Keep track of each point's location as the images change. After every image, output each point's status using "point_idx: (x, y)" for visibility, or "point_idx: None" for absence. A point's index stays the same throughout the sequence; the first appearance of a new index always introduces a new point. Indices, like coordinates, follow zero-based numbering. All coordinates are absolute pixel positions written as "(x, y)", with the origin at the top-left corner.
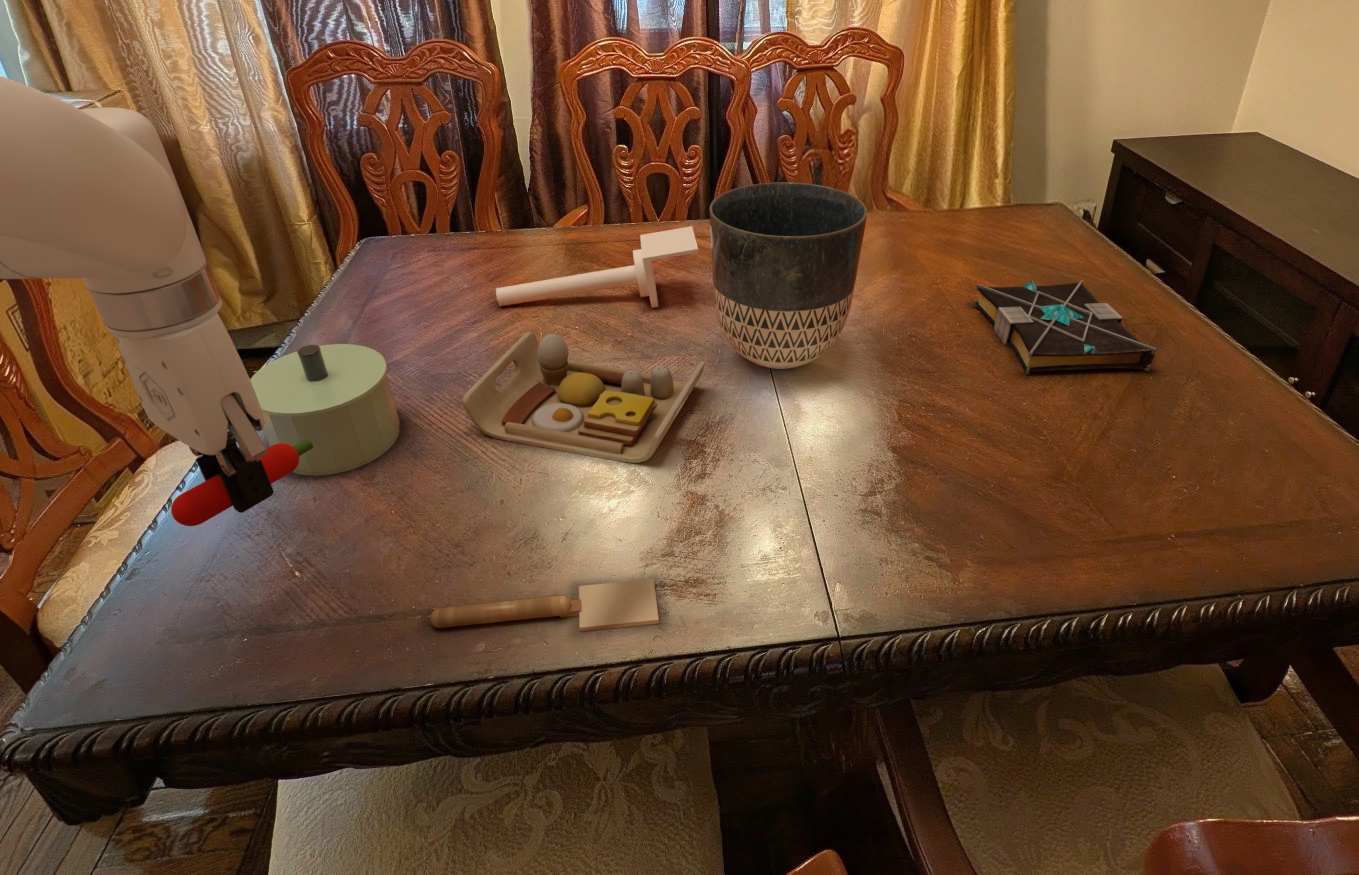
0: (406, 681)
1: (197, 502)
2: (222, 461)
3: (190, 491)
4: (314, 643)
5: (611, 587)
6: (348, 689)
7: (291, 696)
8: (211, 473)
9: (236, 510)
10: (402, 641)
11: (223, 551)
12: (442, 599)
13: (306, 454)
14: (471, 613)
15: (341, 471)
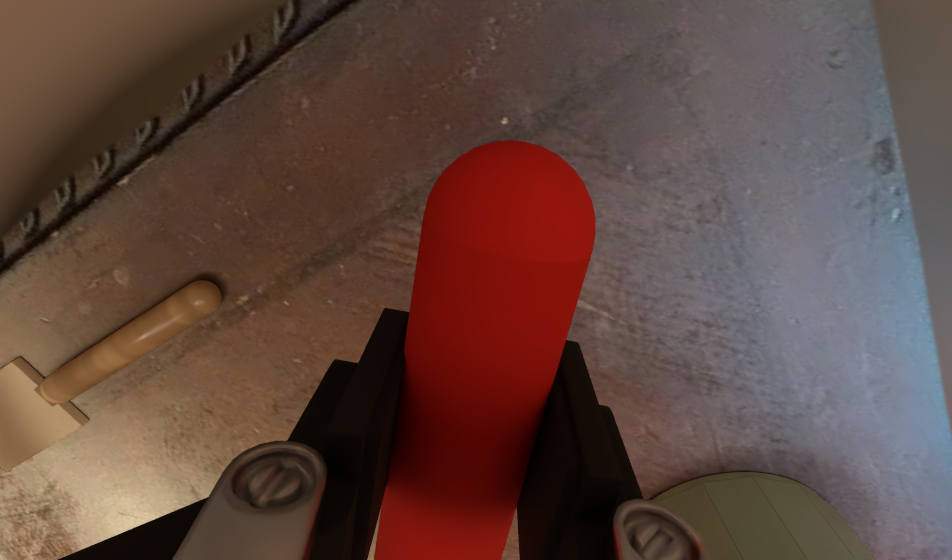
0: (160, 169)
1: (437, 251)
2: (224, 542)
3: (510, 291)
4: (374, 169)
5: (39, 439)
6: (231, 111)
7: (308, 51)
8: (553, 426)
9: (396, 310)
10: (239, 236)
11: (730, 276)
12: (256, 332)
13: (720, 520)
14: (145, 322)
15: (654, 500)
